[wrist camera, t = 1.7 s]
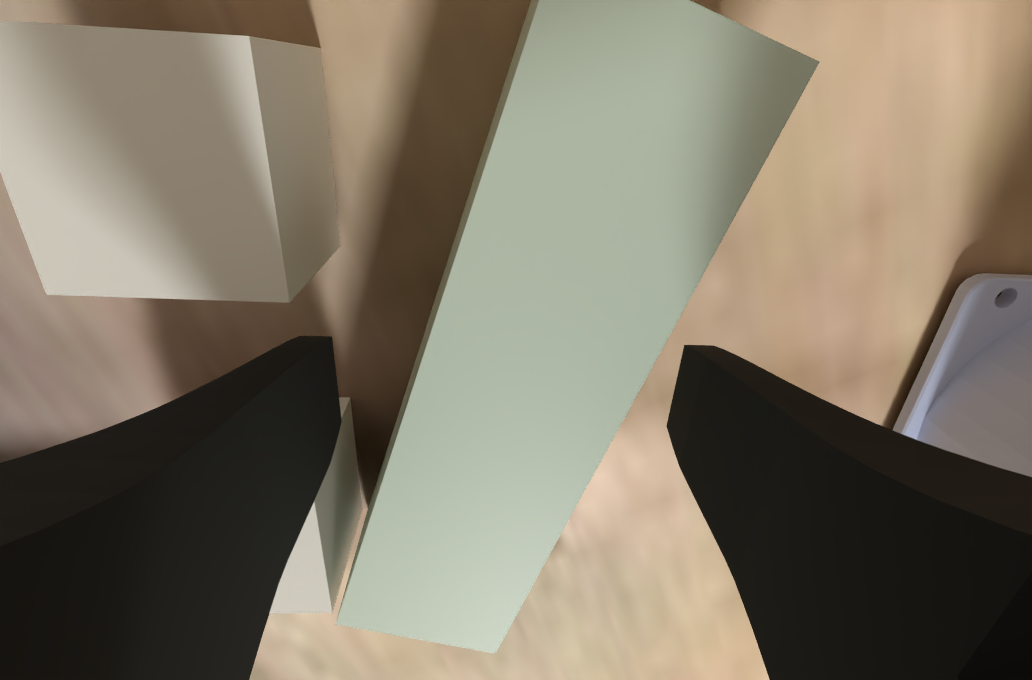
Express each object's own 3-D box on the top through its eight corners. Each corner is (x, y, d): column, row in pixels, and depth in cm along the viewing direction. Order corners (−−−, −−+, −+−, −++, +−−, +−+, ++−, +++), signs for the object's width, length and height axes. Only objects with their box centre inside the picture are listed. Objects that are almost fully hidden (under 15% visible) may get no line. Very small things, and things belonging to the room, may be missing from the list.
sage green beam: (712, 66, 11) (819, 61, 7) (494, 529, 17) (495, 653, 13) (534, -14, 10) (559, -62, 7) (369, 501, 16) (335, 624, 12)
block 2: (351, 395, 14) (311, 486, 11) (363, 506, 16) (332, 613, 13) (196, 392, 14) (110, 485, 11) (226, 506, 16) (161, 614, 12)
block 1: (322, 48, 10) (249, 36, 7) (341, 244, 12) (289, 302, 9) (111, 34, 10) (-58, 16, 7) (163, 237, 12) (46, 294, 9)
